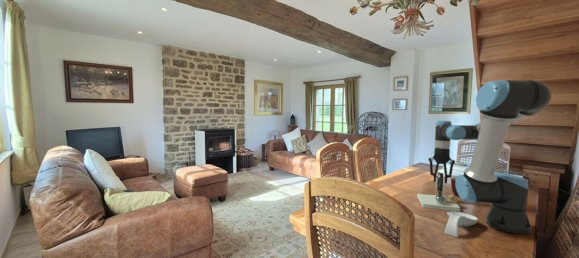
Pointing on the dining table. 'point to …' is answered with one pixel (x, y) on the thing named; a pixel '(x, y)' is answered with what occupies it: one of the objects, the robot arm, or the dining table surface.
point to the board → (433, 201)
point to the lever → (440, 187)
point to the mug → (454, 186)
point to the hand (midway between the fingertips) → (440, 188)
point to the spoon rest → (458, 222)
